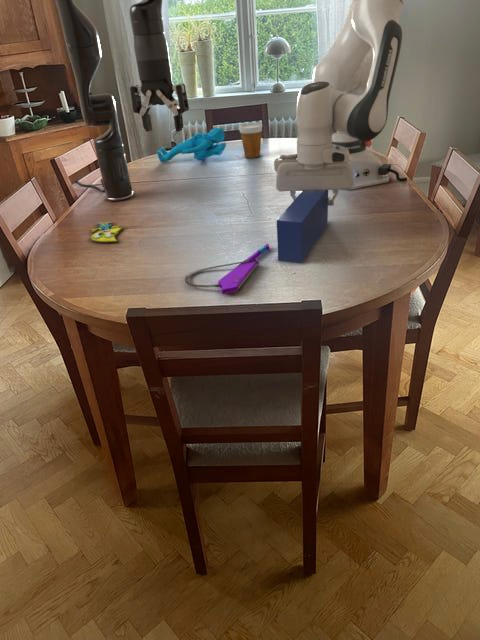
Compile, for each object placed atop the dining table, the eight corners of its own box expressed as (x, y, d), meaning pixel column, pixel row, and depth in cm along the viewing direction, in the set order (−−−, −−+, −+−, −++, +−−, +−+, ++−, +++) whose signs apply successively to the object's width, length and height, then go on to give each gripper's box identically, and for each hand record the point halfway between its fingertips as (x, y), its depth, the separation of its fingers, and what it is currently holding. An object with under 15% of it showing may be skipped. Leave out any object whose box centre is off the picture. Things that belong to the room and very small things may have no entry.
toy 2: (164, 141, 211) (226, 121, 200) (173, 164, 216) (234, 146, 206) (150, 151, 197) (216, 130, 187) (160, 176, 202) (225, 157, 192)
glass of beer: (264, 157, 198) (262, 127, 191) (241, 159, 198) (238, 129, 192) (263, 152, 206) (261, 122, 199) (241, 153, 206) (239, 124, 200)
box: (306, 222, 137) (306, 185, 131) (327, 223, 135) (328, 186, 129) (278, 260, 118) (276, 220, 112) (302, 263, 115) (301, 222, 110)
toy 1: (127, 219, 147) (117, 239, 134) (127, 222, 147) (117, 242, 135) (94, 222, 147) (81, 242, 135) (94, 225, 148) (82, 245, 135)
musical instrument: (182, 302, 106) (271, 286, 103) (179, 293, 105) (270, 277, 102) (195, 260, 127) (269, 246, 124) (193, 253, 126) (268, 239, 123)
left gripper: (117, 60, 110) (131, 134, 119) (172, 57, 105) (182, 134, 114) (134, 56, 116) (147, 127, 124) (187, 53, 111) (196, 127, 120)
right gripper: (272, 158, 122) (275, 210, 129) (355, 154, 119) (352, 208, 126) (274, 152, 127) (276, 202, 134) (353, 148, 124) (351, 200, 131)
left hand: (164, 131), depth 119 cm, fingers open, 8 cm apart
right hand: (314, 205), depth 130 cm, fingers open, 8 cm apart
